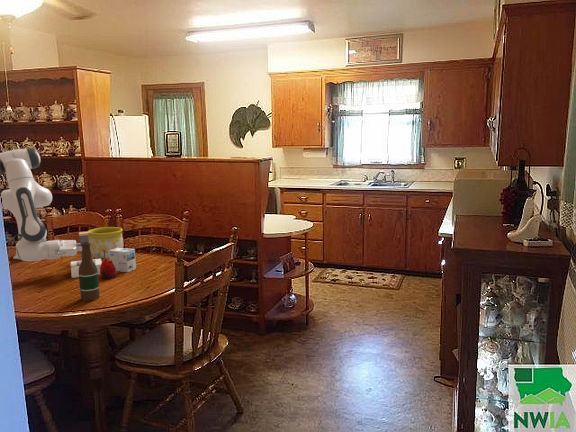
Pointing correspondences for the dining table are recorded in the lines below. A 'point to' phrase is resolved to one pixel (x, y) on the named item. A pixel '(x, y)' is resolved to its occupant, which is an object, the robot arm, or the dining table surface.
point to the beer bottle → (88, 275)
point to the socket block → (76, 265)
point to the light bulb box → (123, 259)
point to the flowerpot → (104, 241)
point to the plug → (83, 239)
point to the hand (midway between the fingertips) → (86, 246)
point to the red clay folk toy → (107, 268)
